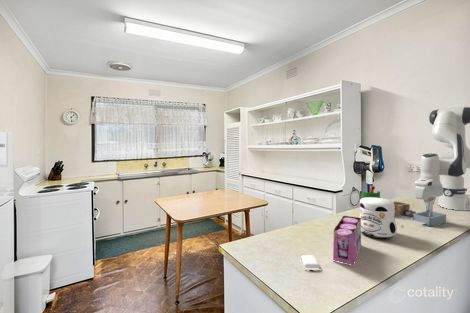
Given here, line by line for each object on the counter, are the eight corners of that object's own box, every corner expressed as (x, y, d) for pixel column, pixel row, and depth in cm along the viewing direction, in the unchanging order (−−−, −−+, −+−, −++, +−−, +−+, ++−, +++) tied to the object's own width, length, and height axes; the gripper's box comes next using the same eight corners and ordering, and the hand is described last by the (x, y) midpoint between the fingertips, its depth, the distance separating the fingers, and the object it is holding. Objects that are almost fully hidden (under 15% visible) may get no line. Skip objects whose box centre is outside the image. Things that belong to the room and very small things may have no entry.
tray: (428, 218, 143) (428, 210, 143) (446, 222, 135) (446, 214, 135) (412, 222, 138) (412, 213, 138) (430, 227, 130) (430, 218, 129)
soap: (299, 260, 99) (299, 253, 99) (315, 260, 99) (315, 253, 98) (303, 271, 90) (303, 264, 90) (321, 272, 90) (321, 264, 89)
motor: (376, 213, 157) (376, 184, 156) (383, 217, 148) (383, 186, 147) (360, 213, 158) (360, 184, 157) (366, 217, 149) (366, 186, 148)
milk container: (360, 238, 118) (360, 203, 117) (356, 227, 134) (356, 196, 133) (401, 243, 111) (401, 206, 110) (391, 230, 127) (391, 197, 126)
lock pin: (427, 216, 139) (427, 196, 138) (435, 218, 135) (435, 197, 135) (423, 217, 137) (423, 197, 137) (431, 219, 134) (431, 198, 133)
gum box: (353, 268, 91) (353, 234, 90) (332, 263, 95) (331, 231, 95) (361, 245, 110) (361, 217, 109) (343, 242, 115) (343, 215, 114)
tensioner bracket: (396, 211, 159) (396, 200, 159) (422, 218, 144) (422, 206, 144) (384, 213, 155) (384, 202, 154) (409, 221, 140) (409, 208, 140)
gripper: (434, 179, 142) (433, 201, 143) (412, 182, 134) (412, 205, 135) (446, 180, 136) (446, 203, 137) (425, 183, 129) (424, 208, 129)
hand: (429, 204), depth 136 cm, fingers closed on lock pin, 3 cm apart
